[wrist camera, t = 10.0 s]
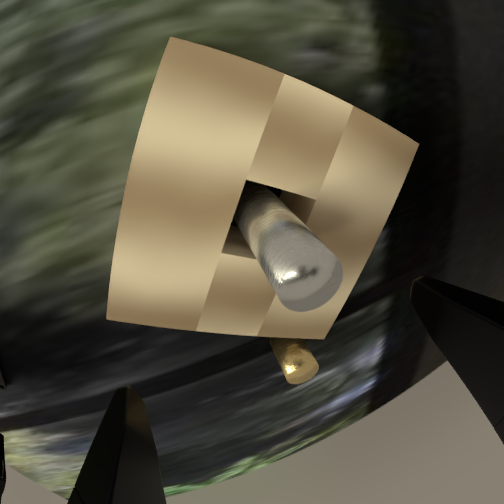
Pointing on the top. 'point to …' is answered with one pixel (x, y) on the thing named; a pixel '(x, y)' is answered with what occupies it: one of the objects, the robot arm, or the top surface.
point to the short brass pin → (294, 359)
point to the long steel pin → (287, 250)
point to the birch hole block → (230, 188)
